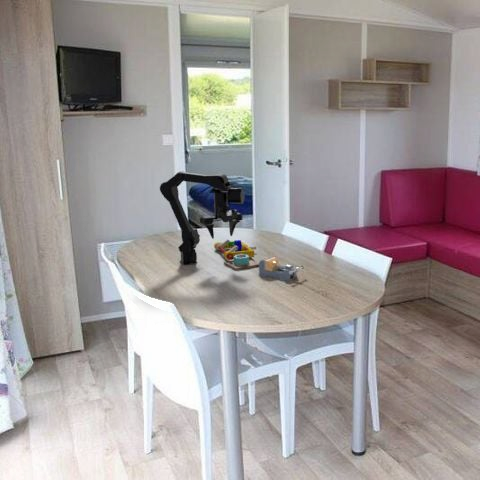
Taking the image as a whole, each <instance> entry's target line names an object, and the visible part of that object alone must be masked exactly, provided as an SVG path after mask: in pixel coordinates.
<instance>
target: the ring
mask: <svg viewBox="0 0 480 480" xmlns="http://www.w3.org/2000/svg"><path fill="white" fill-rule="evenodd" d="M249 259H250V257H249V256H248V255H244V257H243V258H239V255H235V256H234V259H233V260H234V264H236V265H247V264H248V263H249Z"/></svg>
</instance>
